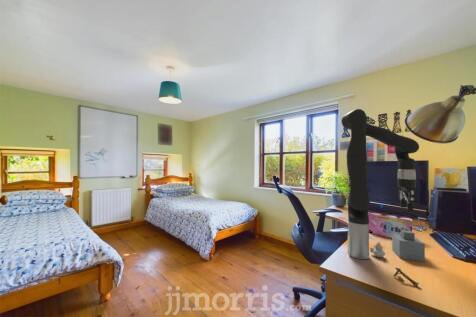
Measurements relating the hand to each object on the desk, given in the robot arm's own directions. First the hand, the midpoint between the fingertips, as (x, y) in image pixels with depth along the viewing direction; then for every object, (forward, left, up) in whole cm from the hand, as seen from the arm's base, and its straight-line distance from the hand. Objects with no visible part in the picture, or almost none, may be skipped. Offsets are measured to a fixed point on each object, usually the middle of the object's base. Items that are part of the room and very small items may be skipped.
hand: (406, 209), depth 108 cm
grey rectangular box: (0, 0, -24) cm, 24 cm away
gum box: (+2, +33, -24) cm, 41 cm away
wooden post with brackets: (-11, -30, -24) cm, 41 cm away
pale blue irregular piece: (-15, -7, -24) cm, 29 cm away
